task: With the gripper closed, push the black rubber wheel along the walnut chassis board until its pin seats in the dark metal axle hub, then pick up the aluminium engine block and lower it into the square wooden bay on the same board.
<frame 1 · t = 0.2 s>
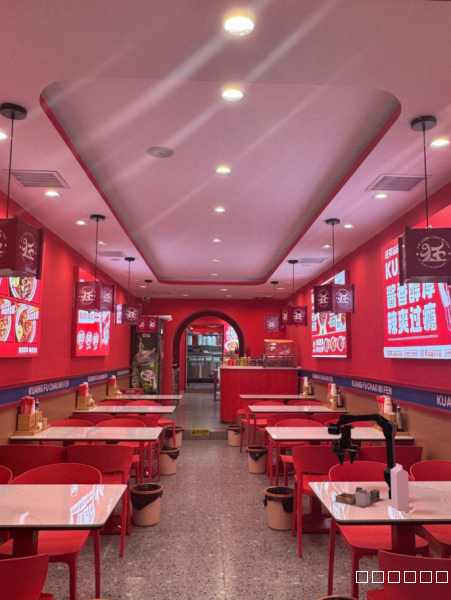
hand: (346, 464, 268), 14 cm above the table, tool pointing down, fingers open, 9 cm apart
chassis: (358, 502, 242), on the table
block: (362, 504, 235), point 1 cm above the table, touching chassis
milk: (400, 511, 229), on the table
wheel: (361, 492, 249), point 4 cm above the table, slide at 5.0 cm
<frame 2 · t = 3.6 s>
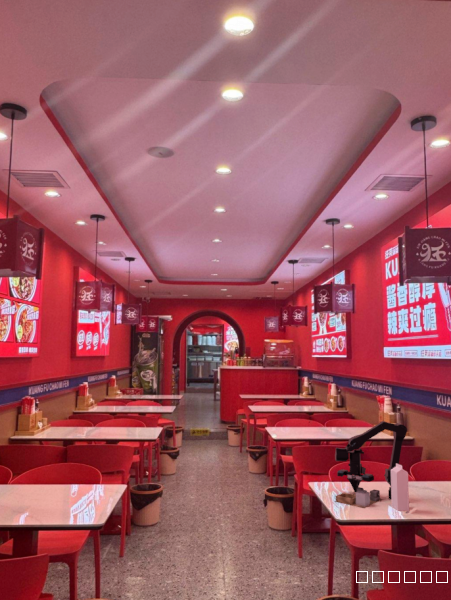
hand: (355, 492, 251), 3 cm above the table, tool pointing down, fingers closed
wheel: (362, 492, 249), point 4 cm above the table, slide at 4.3 cm, touching gripper
everything else where it was.
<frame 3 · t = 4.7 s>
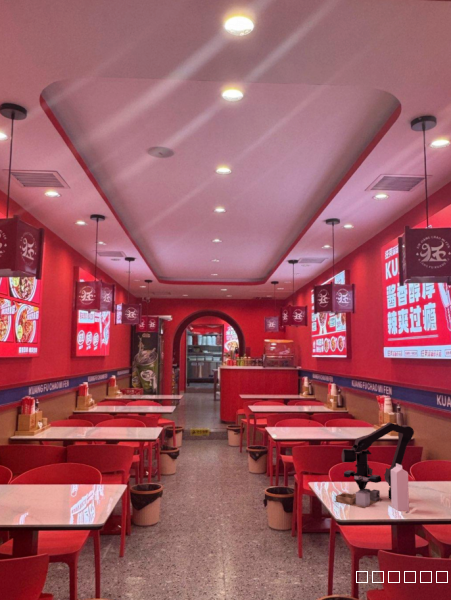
hand: (362, 493, 249), 3 cm above the table, tool pointing down, fingers closed
wheel: (369, 493, 246), point 4 cm above the table, slide at 0.4 cm, touching gripper
everything else where it was.
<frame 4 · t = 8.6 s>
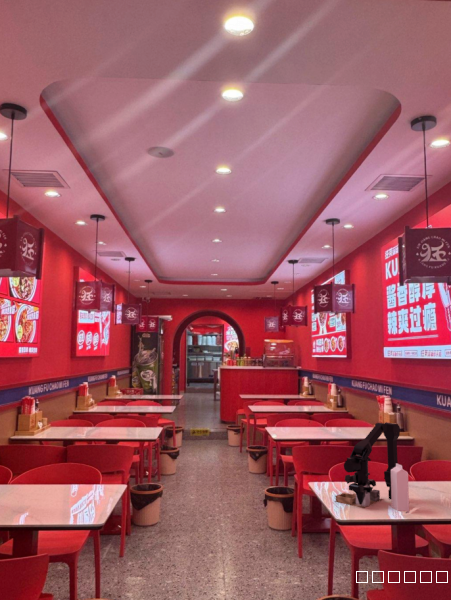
hand: (362, 503, 235), 2 cm above the table, tool pointing down, fingers closed on block, 5 cm apart
block: (362, 504, 235), point 1 cm above the table, touching chassis, gripper
wheel: (369, 493, 246), point 4 cm above the table, slide at 0.4 cm
everything else where it was.
when the fingers open (4 cm above the table, at t = 12.1 s): block drops 2 cm, resting on chassis.
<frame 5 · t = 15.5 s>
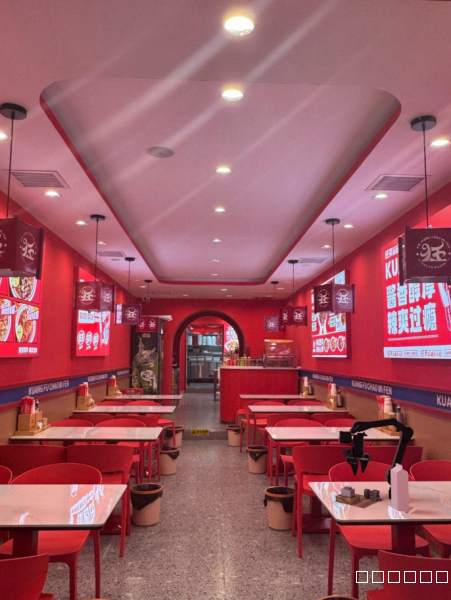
hand: (359, 474, 253), 12 cm above the table, tool pointing down, fingers open, 9 cm apart
block: (348, 501, 241), point 1 cm above the table, touching chassis
everything else where it was.
at the end: block 0.0 cm from the target spot on the chassis, point 1.2 cm above the chassis's base; block tilted 0°; wheel slide at 0.4 cm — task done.
